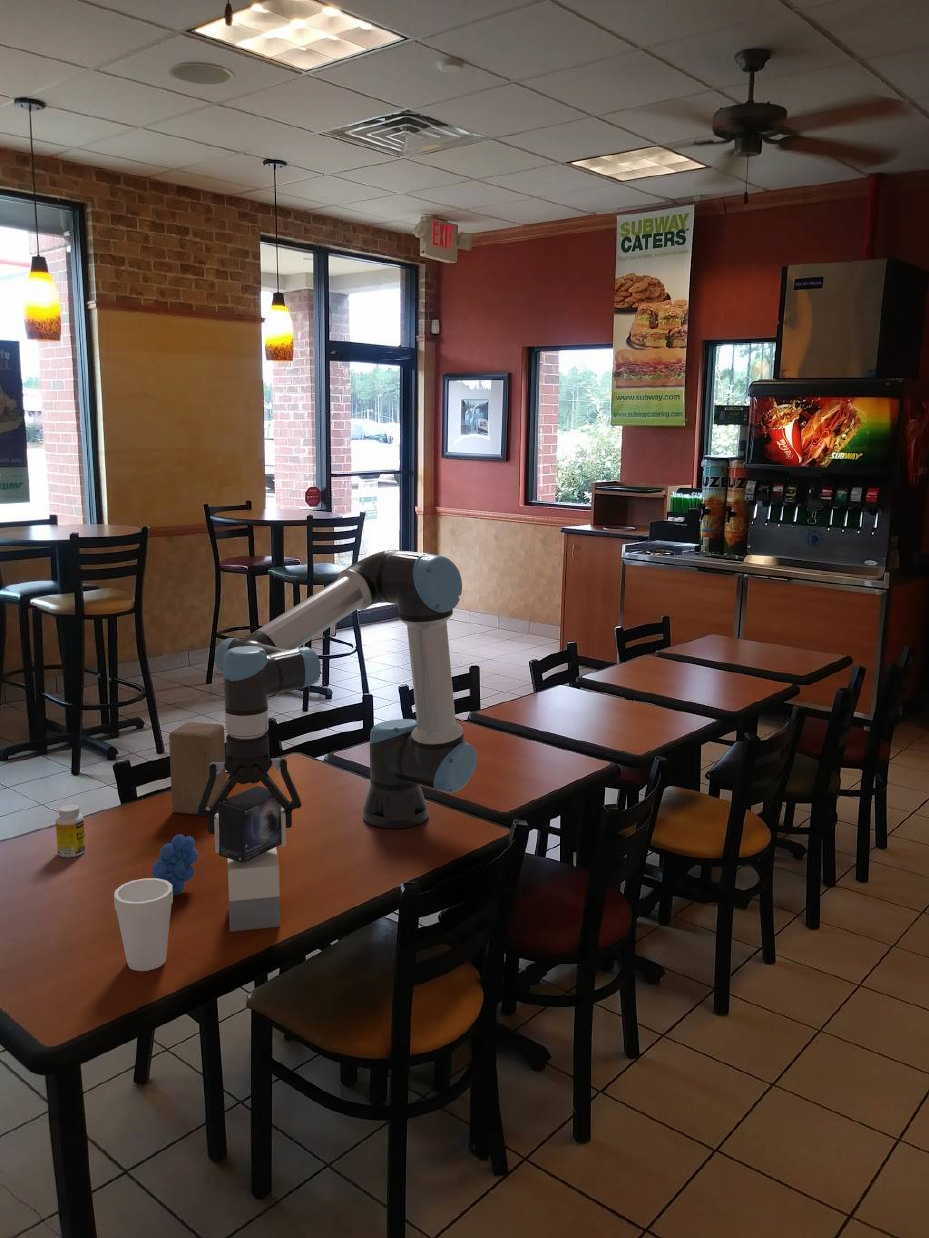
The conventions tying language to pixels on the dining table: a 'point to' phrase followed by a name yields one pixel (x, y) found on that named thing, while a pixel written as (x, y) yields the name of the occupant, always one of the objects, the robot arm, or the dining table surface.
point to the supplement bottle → (70, 831)
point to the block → (195, 763)
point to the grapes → (176, 862)
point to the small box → (249, 824)
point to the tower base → (254, 913)
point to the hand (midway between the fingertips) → (251, 846)
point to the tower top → (254, 877)
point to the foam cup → (144, 921)
